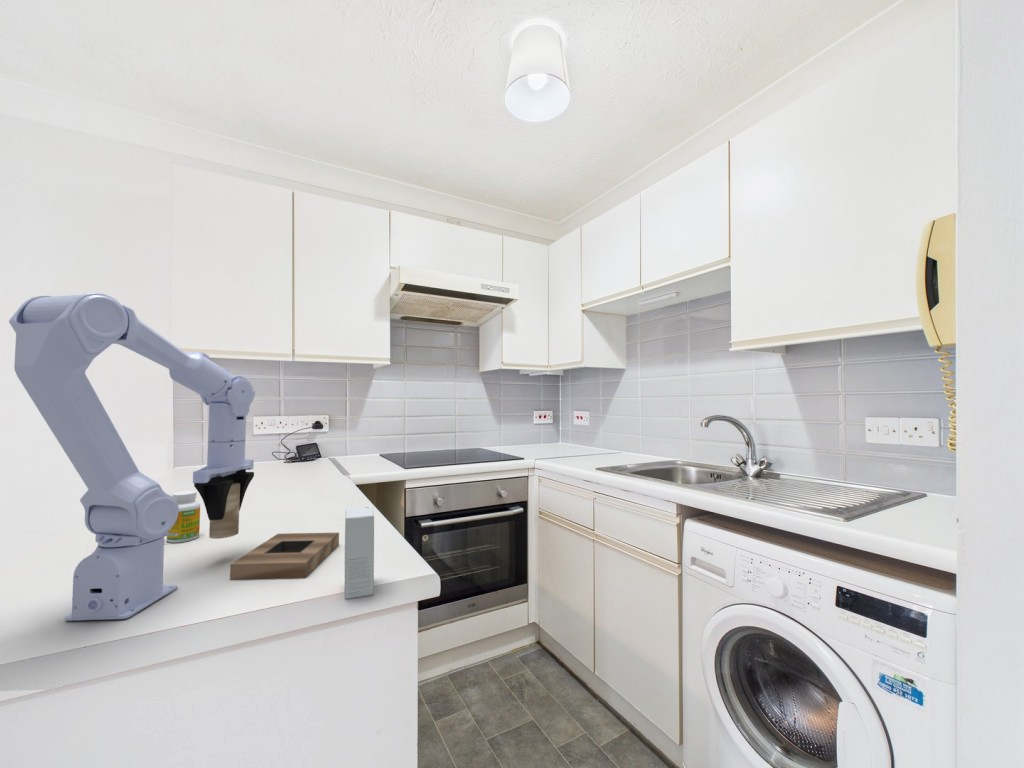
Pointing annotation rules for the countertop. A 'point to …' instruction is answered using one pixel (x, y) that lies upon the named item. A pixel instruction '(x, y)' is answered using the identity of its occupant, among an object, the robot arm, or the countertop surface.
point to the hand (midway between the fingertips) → (224, 515)
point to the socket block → (285, 556)
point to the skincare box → (359, 552)
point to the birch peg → (228, 516)
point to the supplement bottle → (185, 518)
